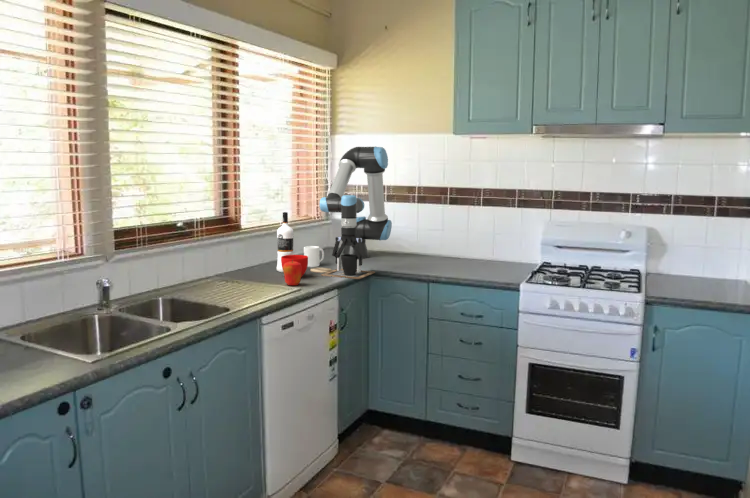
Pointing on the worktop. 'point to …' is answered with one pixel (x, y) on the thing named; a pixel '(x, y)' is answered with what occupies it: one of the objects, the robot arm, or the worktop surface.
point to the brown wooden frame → (348, 276)
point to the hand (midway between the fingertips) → (348, 271)
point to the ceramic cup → (297, 258)
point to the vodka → (284, 241)
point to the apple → (292, 272)
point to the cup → (313, 255)
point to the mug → (349, 264)
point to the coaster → (320, 270)
